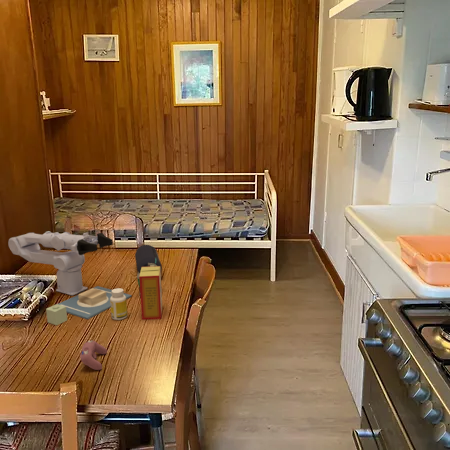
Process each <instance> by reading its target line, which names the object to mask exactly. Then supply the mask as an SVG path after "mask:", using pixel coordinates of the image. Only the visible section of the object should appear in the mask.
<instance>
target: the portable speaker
mask: <svg viewBox="0 0 450 450" xmlns="http://www.w3.org/2000/svg"><path fill="white" fill-rule="evenodd" d="M134 257H135V263H136V269H137V273H140V272H141V267H147V266H148V263H153V264H156V265H157V266H160V269H161V272H162V271H163V269H162V267H163V266H162V263H161V261H160V256H159V254H158V252H157V249H156V248H155V247H154V246H153V245H150V244H143V245H140V246H139V247H138V248H137V249H136V251H135V254H134Z"/></svg>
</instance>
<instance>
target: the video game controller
mask: <svg viewBox="0 0 450 450" xmlns="http://www.w3.org/2000/svg"><path fill="white" fill-rule="evenodd" d="M107 352H108V351H107V348H106V347H105V346H104V345H101V344H99V343H98V342H97V341H96V340H93V339H91V340H87V341H86V342H85V343H83V346H82V347H81V352H80V355H79V357H80V361H81V362H82V363H83V365H86V366H87V367H89V368H90V369H93V370H94V371H100V370H101V371H102V369H103V364H102V363H101V362H100V361H98V360H97V354H99V355H106V354H107ZM96 353H97V354H96Z"/></svg>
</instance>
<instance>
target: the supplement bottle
mask: <svg viewBox="0 0 450 450" xmlns="http://www.w3.org/2000/svg"><path fill="white" fill-rule="evenodd" d="M111 290H112V296H111V298H110V306H111V308H110V317H111V319H112V320H114V321H115V320H116V321H121V320H124V319H126V318H127V317H128V306H127V303H128V302H127V299H126V296H125V295H123V294H124V289H123V288H119V287H118V288H114V289H111Z"/></svg>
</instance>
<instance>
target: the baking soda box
mask: <svg viewBox="0 0 450 450" xmlns="http://www.w3.org/2000/svg"><path fill="white" fill-rule="evenodd" d="M139 280H140V293H139V297H140V296H141V297H140V310H141V320H142V321H144V320H160V319H161V320H162V315H163V314H162V313H163V294H162V293H163V290H162V271H161V269H160V266H150V267H141V272H140V276H139Z"/></svg>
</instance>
